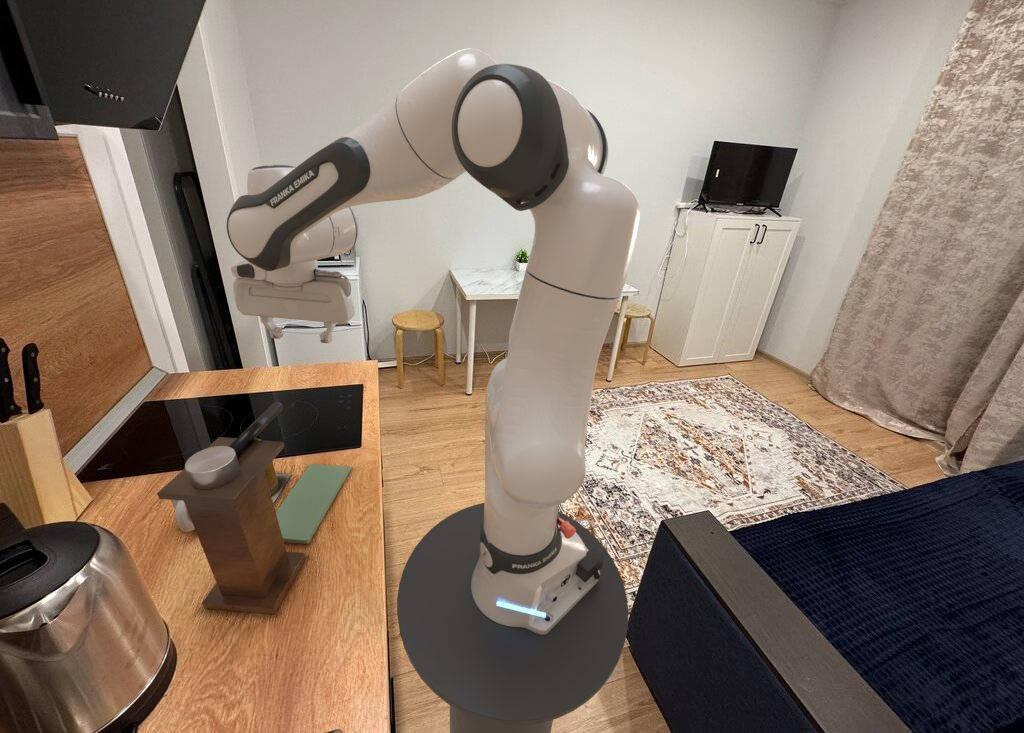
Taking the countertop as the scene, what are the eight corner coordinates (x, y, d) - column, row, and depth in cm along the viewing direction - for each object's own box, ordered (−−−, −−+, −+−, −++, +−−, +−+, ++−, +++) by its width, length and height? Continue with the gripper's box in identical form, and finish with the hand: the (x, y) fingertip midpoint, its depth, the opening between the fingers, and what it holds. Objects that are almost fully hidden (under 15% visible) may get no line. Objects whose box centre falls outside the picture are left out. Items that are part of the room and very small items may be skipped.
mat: (311, 467, 94) (310, 463, 93) (350, 470, 93) (350, 466, 93) (259, 540, 76) (258, 536, 75) (308, 544, 76) (307, 540, 75)
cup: (233, 500, 84) (221, 466, 80) (210, 541, 75) (196, 505, 71) (193, 503, 82) (179, 468, 78) (165, 545, 74) (148, 509, 70)
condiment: (236, 503, 83) (220, 455, 78) (257, 474, 91) (245, 428, 85) (273, 503, 84) (261, 456, 78) (292, 474, 91) (281, 430, 86)
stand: (250, 544, 75) (215, 436, 64) (311, 549, 75) (286, 441, 64) (204, 609, 64) (152, 493, 53) (274, 614, 64) (237, 499, 53)
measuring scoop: (264, 408, 72) (261, 394, 70) (296, 410, 72) (294, 396, 70) (180, 487, 54) (173, 471, 53) (222, 491, 54) (217, 474, 53)
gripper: (356, 268, 75) (362, 338, 82) (243, 258, 75) (258, 328, 82) (342, 277, 70) (350, 351, 76) (220, 266, 70) (238, 341, 76)
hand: (301, 339), depth 79 cm, fingers open, 8 cm apart
